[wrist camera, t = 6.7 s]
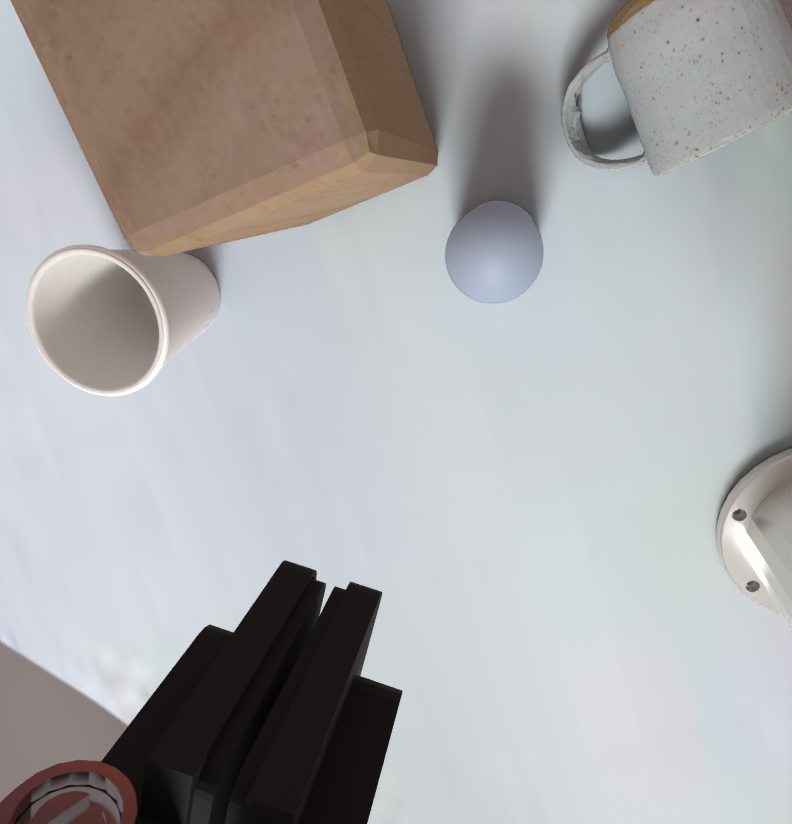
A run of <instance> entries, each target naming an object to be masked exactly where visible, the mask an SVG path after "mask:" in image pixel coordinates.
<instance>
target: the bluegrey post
mask: <svg viewBox="0 0 792 824" xmlns="http://www.w3.org/2000/svg"><path fill="white" fill-rule="evenodd" d="M445 260H446V266H447V270H448V273H449V276H450V278H451V280H452V281H453V283H454V284H455V286H456V287H457V288H458V289H459V290H460V291H461V292H462V293H463V294H465V295H466V296H468V297H469V298H471V299H473V300H475V301H479V302H482V303H489V304H496V303H503V302H507V301H510V300H513V299H515V298H516V297H518V296H520V295H521V294H523V293H524V292H525V291H526V290H527V289H528V288H529V287H530V286H531V285H532V284H533V283H534V281H535V280H536V278H537V276H538V274H539V272H540V269H541V266H542V262H543V243H542V239H541V236H540V233H539V231H538V229H537V227H536V225H535V223H534V221H533V219H532V218H531V216H530V215H529V214H528V213H527V212H526V211H525V210H524V209H523V208H522V207H520V206H518V205H517V204H514V203H512V202H509V201H504V200H494V201H488V202H485V203H483V204H480V205H478V206H477V207H475V208H474V209H472V210H471V211H470V212H469V213H467V214H466V215H465V216H463V217H462V218H461V219H460V220H459V221H458V222H457V224H456V225H455V226H454V228H453V230H452V231H451V233H450V235H449V238H448V241H447V244H446V250H445Z"/></svg>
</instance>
